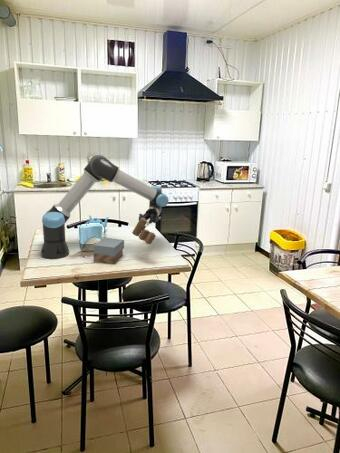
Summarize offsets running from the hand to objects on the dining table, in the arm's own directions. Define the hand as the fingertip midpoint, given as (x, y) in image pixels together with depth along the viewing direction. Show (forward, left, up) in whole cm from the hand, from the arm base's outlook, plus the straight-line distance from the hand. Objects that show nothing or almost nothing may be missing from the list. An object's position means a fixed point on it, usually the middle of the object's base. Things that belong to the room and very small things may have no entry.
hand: (144, 223), depth 189 cm
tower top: (-19, -4, -16) cm, 25 cm away
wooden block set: (-2, +2, -9) cm, 9 cm away
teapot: (-43, +43, -21) cm, 64 cm away
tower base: (-19, -5, -21) cm, 29 cm away
